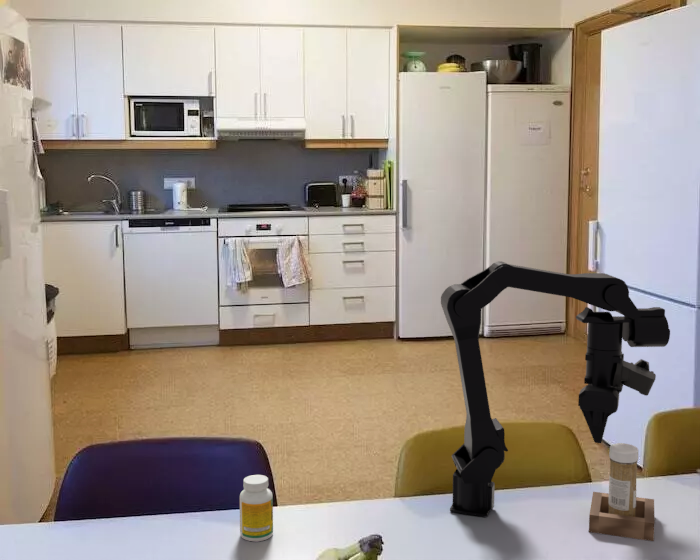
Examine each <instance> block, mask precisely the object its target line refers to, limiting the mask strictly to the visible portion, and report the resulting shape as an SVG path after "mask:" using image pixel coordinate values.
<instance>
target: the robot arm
mask: <svg viewBox="0 0 700 560" xmlns="http://www.w3.org/2000/svg"><path fill="white" fill-rule="evenodd" d="M507 288H513V289H518V290H525V291H530V292H531V291H532V292H537V293H543V294H548V295H554V296H561V297H566V298H567V297H568V298H573V299H575V300H578V301H580V302H582V303H585V304H588V305H590V306H594V307H596V308H599V309H602V310H604V311H593V309H592V308H590V307H588V306H586V307H584V309H583V310H582V311H581V312H580V313H578V314H577V315H576V316H575V319H576V320H577V321H579V322H581V323H583V324H587V340H586V344H587V345H586V353H585V359H584V361H585V362H586V363H585V364H586V365H585V376H584V379H583V381H584V382H583V384H585V386H583V387H582V388H581V389H580V391H579V393H578V403H577V404H578V407H579V409H580V410H581V412H582V415H583V417H584V419H585V421H586V424H587V427H588V430H589V431H590V435H591V436H592V439H593V442H594V443H595V444H596V443H597V444H602V442H603V438H604V434H605V430H606V426H607V423H608V418H609V417H610V416H611V415H613V414H615V413H617V411H618V409H619V403H620V393H621V392H622V391H623V388H624V386H625V387H628V388H629V389H632V390H635V391H637V392H638V393H639V394H641V395H644V396H646V397H647V396H648V395H649V393H650V392H651V389H652V388H653V385H654V384H655V381H656V377H657V376H656V373H654V371H652V370H650V362H649V361H646V360H644V359H642V358H640V359H639V360H638V361H636V362H635V363H634V362H628V361H627V360H624V358H625V357H624V356H625V354H624V353H623V351H622V349H623V341H624V342H627V345H628V346H629V347H630V348H660V347H661V348H663V347H666V346H667V345H668V344H669V342H670V338H671V337H670V336H671V329H670V325H669V322H668V319H667V317H666V309H664V308H662V307H660V306H651V307H649V308H645V307H644V308H638V307H637V305H635V303H634V302H633V300H632V299H631V297H630V296H629V295H630V290H629V286H628V285H627V283H626V282H625V281H624V280H623V279H620V278H618V277H616V276H613V275H610V274H608V273H605V272H602V273H601V272H595V273H594V272H593V273H591V272H589V273H588V272H587V273H586V272H585V273H575V274H574V273H571V274H569V273H563V272H557V271H551V270H546V269H541V268H540V269H539V268H532V267H527V266H521V265H518V264H517V265H516V264H512V263H511V264H509V263H507V262H504V261H495V262H493V263H492V264H490V265H489V266H488V267H486V268H485V269H483V270H482V271H479V272H478V273H476V274H475V275H472V276H470V277H468V278H467V279H465V280H464V281H462V282H461V283H458V284H457V283H455V284H451V285H449V286H448V287H447V288H445V290H444V291H443V292H442V293H441V296H440V305H441V307H442V310H443V315H444V316H445V319H446V321H447V325H448V326H449V327H448V328H449V330H450V332H451V334H452V337H453V339H454V344H455V350H456V358H457V363H458V368H459V369H458V370H459V376H460V382H461V388H462V394H463V400H464V406H465V411H466V412H465V413H466V417H465V423H464V431H463V432H464V434H463V435H464V436H463V437H464V439H463V440H464V441H463V442H464V443H463V444H462V445H461V446H460V447H459V448H457V449H456V451H455V452H453V453H452V454H451V458H452V462H453V464H454V467H456V469H455V471H454V473H453V474H452V504H451V506H450V508H449V512H451V513H455V514H464V515H468V516H469V515H470V516H477V517H484V518H485V517H488V515H489V513H490V511H491V510H493V507H494V506H495V488H496V487H495V482H494V481H492V480H493V478H494V475H495V472H496V470H498V468H500V467H501V465H503V463H504V462H505V458H506V456H505V453H506V452H509V449H508V447H507V446H506V443H505V428H504V426H503V425H502V424H501V423H500V421H499V420H498V418H492V415H491V411H490V410H491V409H490V404H489V397H488V391H487V390H488V389H487V383H486V378H485V372H484V366H483V358H482V353H481V346H480V340H479V339H480V332H481V325H482V309H483V308H485V307H486V306H488V305H489V304H491V302H493V301H494V300H495V299H496V298H497V297H498V295H500V294H501V293H502V292H503V291H504V290H505V289H507ZM611 312H616V313H617V314H620V315H623V316H615V315H614V316H613V314H612V313H611Z"/></svg>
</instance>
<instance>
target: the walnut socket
mask: <svg viewBox="0 0 700 560" xmlns="http://www.w3.org/2000/svg"><path fill="white" fill-rule="evenodd" d="M589 509H590V510H589V516H588V517H589V518H588V519H589V520H588V533H594V534H601V535H608V536H614V537H615V536H616V537H621V538H628V539H635V540H643V541H648V542H654V541H655V538H654V537H655V522H656V520H655V499H654V498H646V497H640V496H639V497H637V496H636V507H635V517H631V516H623V515H616V514H609V492H608V493H605V492H601V491H600V492H598V491H592V497H591V502H590V508H589Z"/></svg>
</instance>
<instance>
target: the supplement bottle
mask: <svg viewBox="0 0 700 560" xmlns="http://www.w3.org/2000/svg"><path fill="white" fill-rule="evenodd" d="M242 484H243V486H242V487H243V490H242V491H241V492H240V494H239V534H240V537H241V538H242V539H244V540H245V541H249V542H255V543H256V542H263V541H265V540H268V539H269V538H271V537H272V536H273V534H274V511H273V510H274V507H273V505H274V503H273V501H274V499H273V492H272V490H271V489H270V488H268V487H269V484H270V483H269V477H267V476H266V475H263V474H253V475H248V476H245V477H244V478H243V483H242Z"/></svg>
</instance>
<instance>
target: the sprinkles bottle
mask: <svg viewBox="0 0 700 560" xmlns="http://www.w3.org/2000/svg"><path fill="white" fill-rule="evenodd" d="M608 455H609V461H610V462H609V476H608V494H609V514H616V515H623V516H631V517H635V507H636V497H637V475H638V474H637V472H638V471H637V466H638V460H639V448H638V447H637V446H635V445H633V444H630V443H622V442H620V443H619V442H618V443H617V442H616V443H614V444H611V445H610V446H609V454H608Z"/></svg>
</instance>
